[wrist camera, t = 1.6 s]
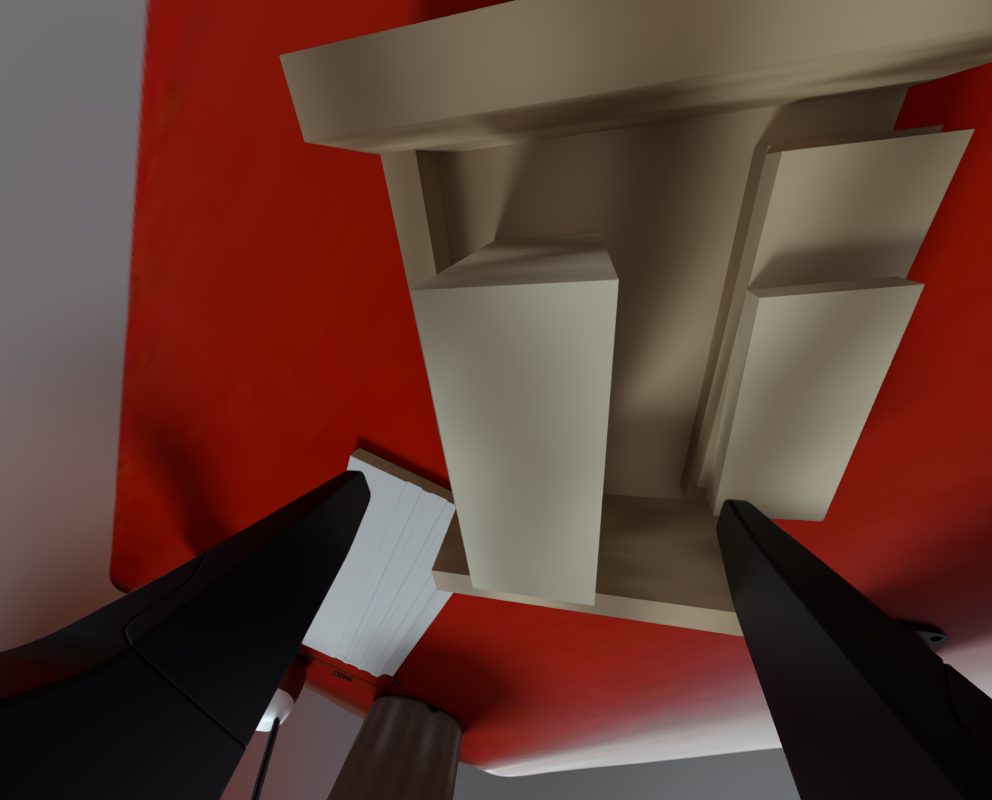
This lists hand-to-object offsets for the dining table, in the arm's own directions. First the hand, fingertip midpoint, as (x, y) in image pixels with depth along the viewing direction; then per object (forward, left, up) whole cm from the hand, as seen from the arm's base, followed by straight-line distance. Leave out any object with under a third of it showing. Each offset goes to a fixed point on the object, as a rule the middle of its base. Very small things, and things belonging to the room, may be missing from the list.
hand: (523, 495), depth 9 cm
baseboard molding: (+15, +23, -10) cm, 29 cm away
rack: (-2, 0, -9) cm, 9 cm away
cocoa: (+33, +41, -9) cm, 53 cm away
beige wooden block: (0, 0, -8) cm, 8 cm away
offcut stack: (-8, 0, -8) cm, 12 cm away
